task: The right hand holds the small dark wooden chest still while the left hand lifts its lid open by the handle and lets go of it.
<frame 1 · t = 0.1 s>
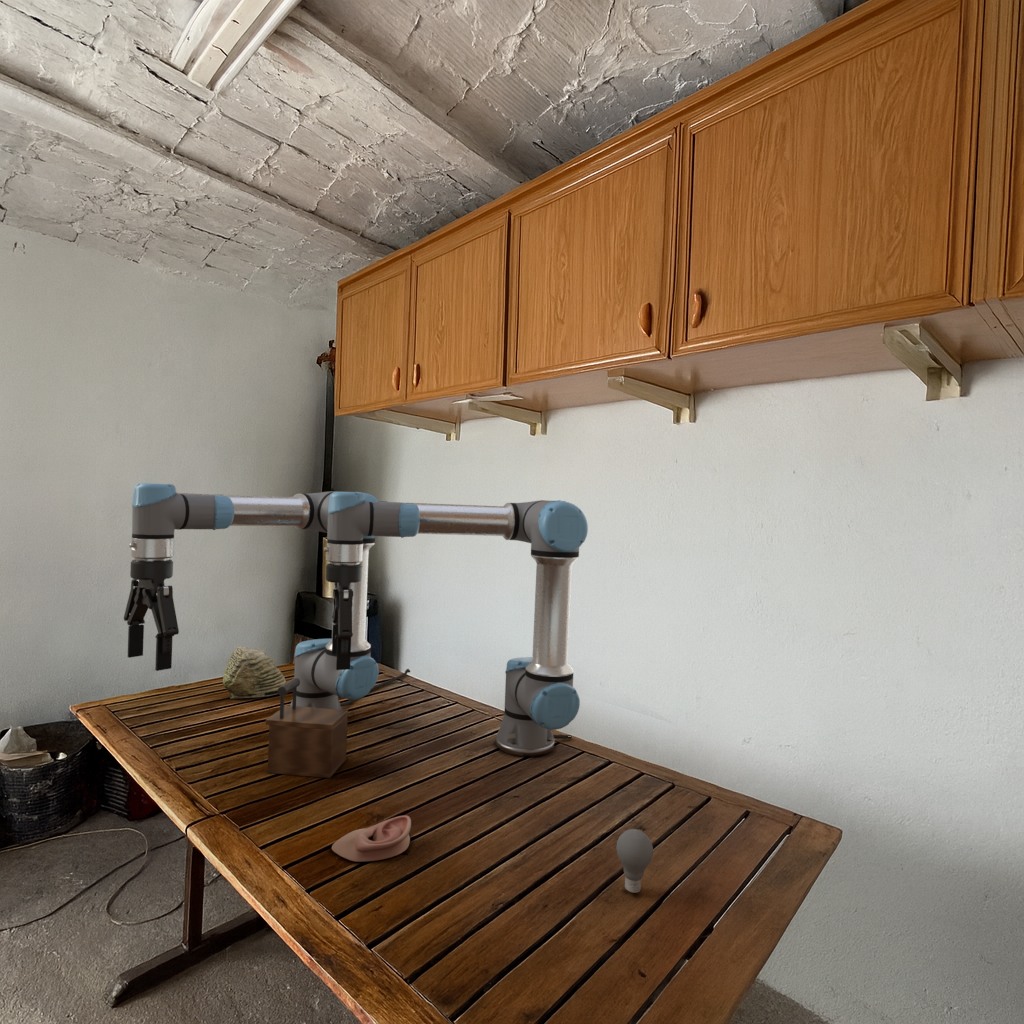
left hand: (148, 662, 129), 28 cm above the table, tool pointing down, fingers open, 13 cm apart
right hand: (340, 661, 137), 28 cm above the table, tool pointing down, fingers open, 13 cm apart
fossil: (254, 694, 198), on the table
anatomical model: (371, 846, 116), on the table
lid: (308, 701, 148), point 15 cm above the table, hinge at 0.0°
chest: (307, 766, 148), on the table
light bulb: (632, 891, 106), on the table
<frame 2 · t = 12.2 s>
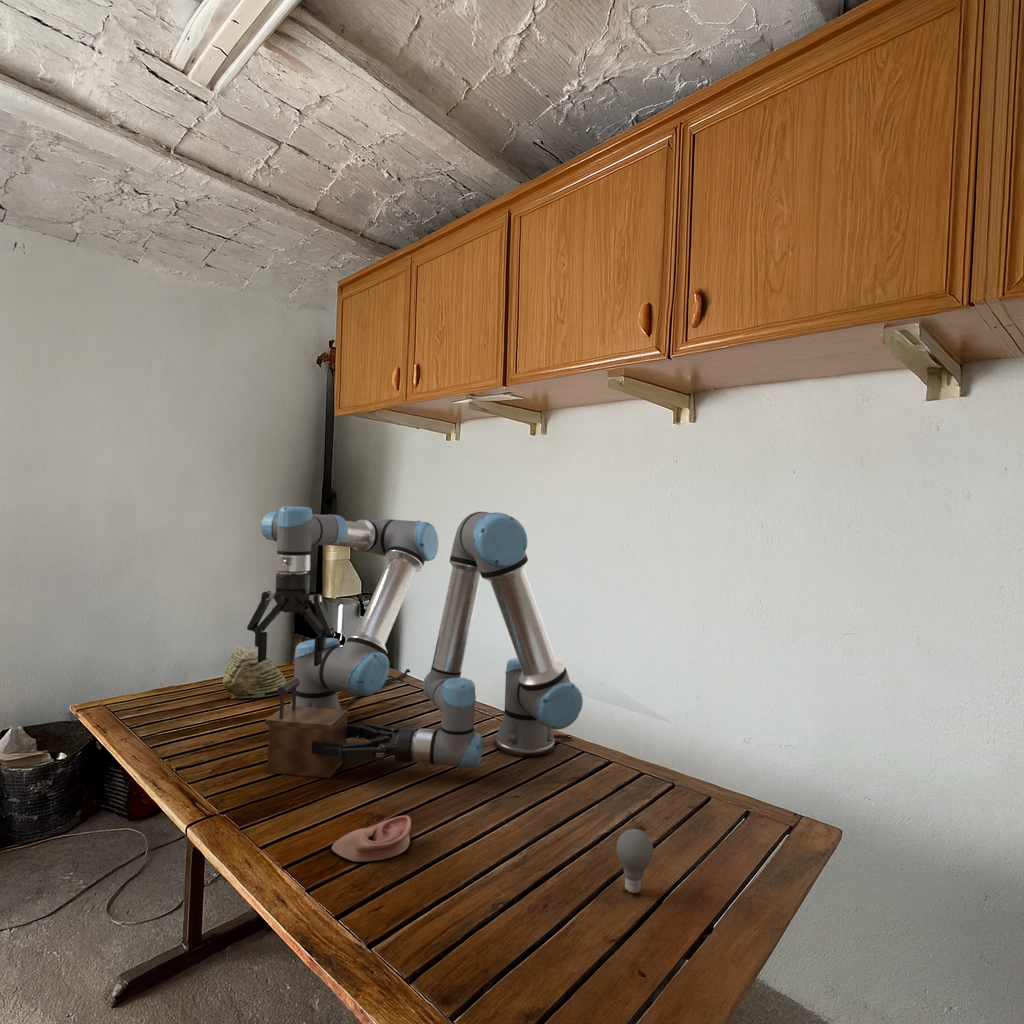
left hand: (289, 662, 148), 24 cm above the table, tool pointing down, fingers open, 13 cm apart
right hand: (321, 738, 148), 7 cm above the table, tool horizontal, fingers closed on chest, 10 cm apart
chest: (307, 766, 148), on the table, touching right hand
everything else where it was.
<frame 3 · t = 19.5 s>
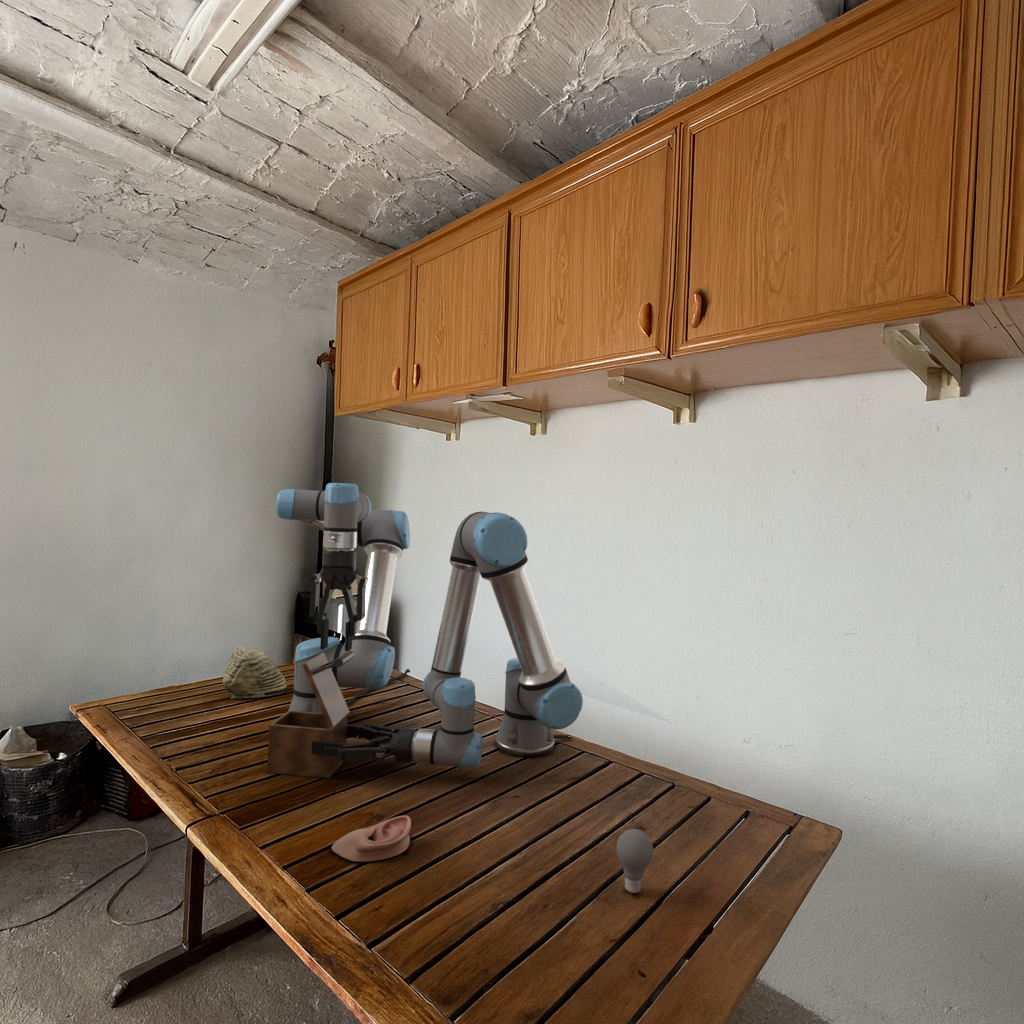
left hand: (336, 648, 148), 28 cm above the table, tool pointing down, fingers open, 5 cm apart
right hand: (321, 738, 148), 7 cm above the table, tool horizontal, fingers closed on chest, 10 cm apart
lid: (340, 683, 147), point 20 cm above the table, hinge at 63.4°
chest: (307, 766, 148), on the table, touching right hand
everything else where it was.
when the right hand's fingers open (7 cm above the table, at t = 22.0 s): chest stays where it is, on the table.
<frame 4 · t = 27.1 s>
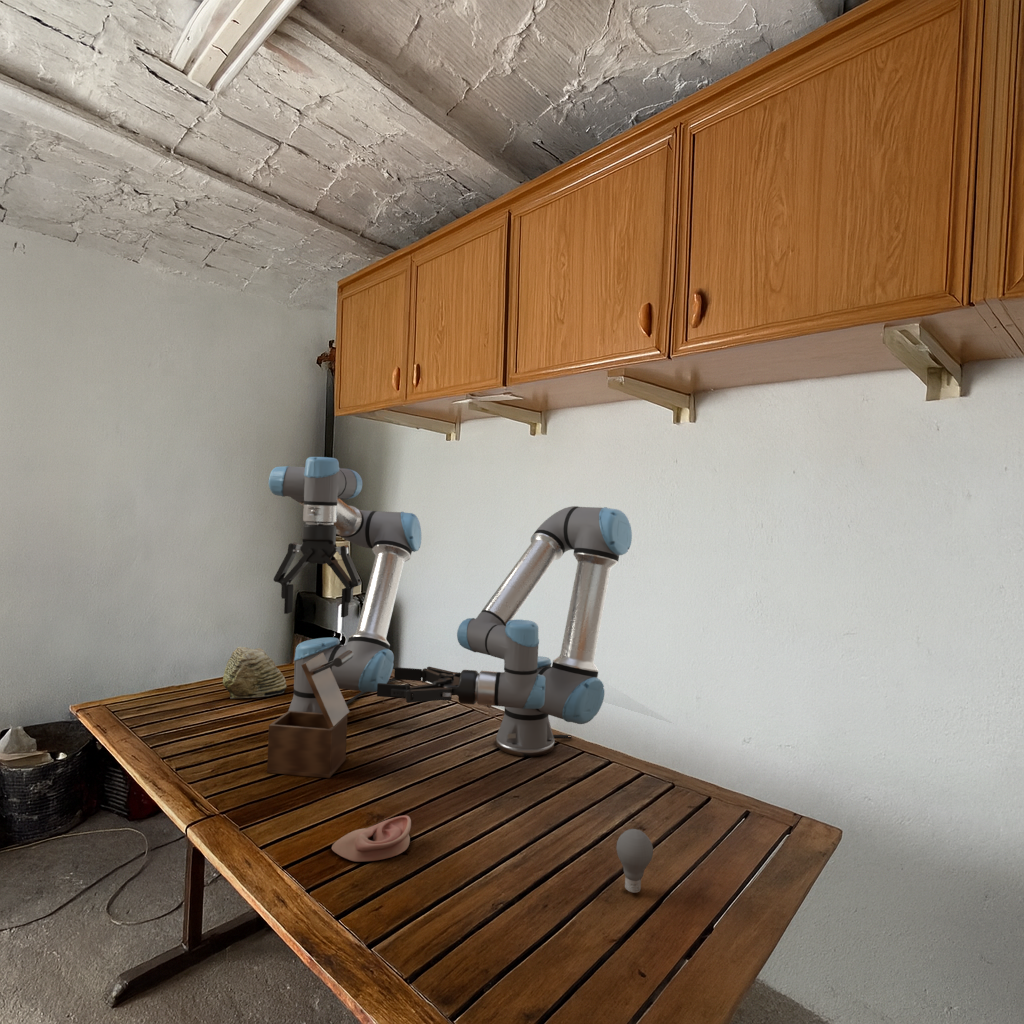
left hand: (316, 614, 148), 36 cm above the table, tool pointing down, fingers open, 13 cm apart
right hand: (386, 681, 146), 21 cm above the table, tool horizontal, fingers open, 13 cm apart
lid: (340, 682, 147), point 20 cm above the table, hinge at 62.9°
chest: (307, 766, 148), on the table
everything else where it was.
at the end: lid at +63° (first picture: +0°); the left hand is holding nothing; the right hand is holding nothing; chest tilted 0°; chest never tilted more than 1° during the clip; chest moved 0.1 cm from its start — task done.
